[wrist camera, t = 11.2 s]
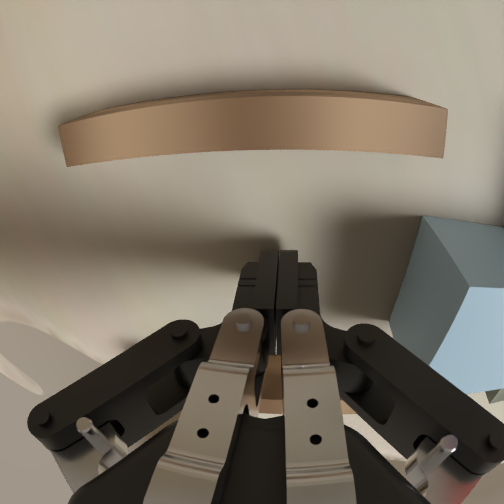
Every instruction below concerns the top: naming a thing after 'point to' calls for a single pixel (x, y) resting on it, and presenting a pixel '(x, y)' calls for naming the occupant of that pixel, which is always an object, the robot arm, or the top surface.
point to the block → (455, 302)
